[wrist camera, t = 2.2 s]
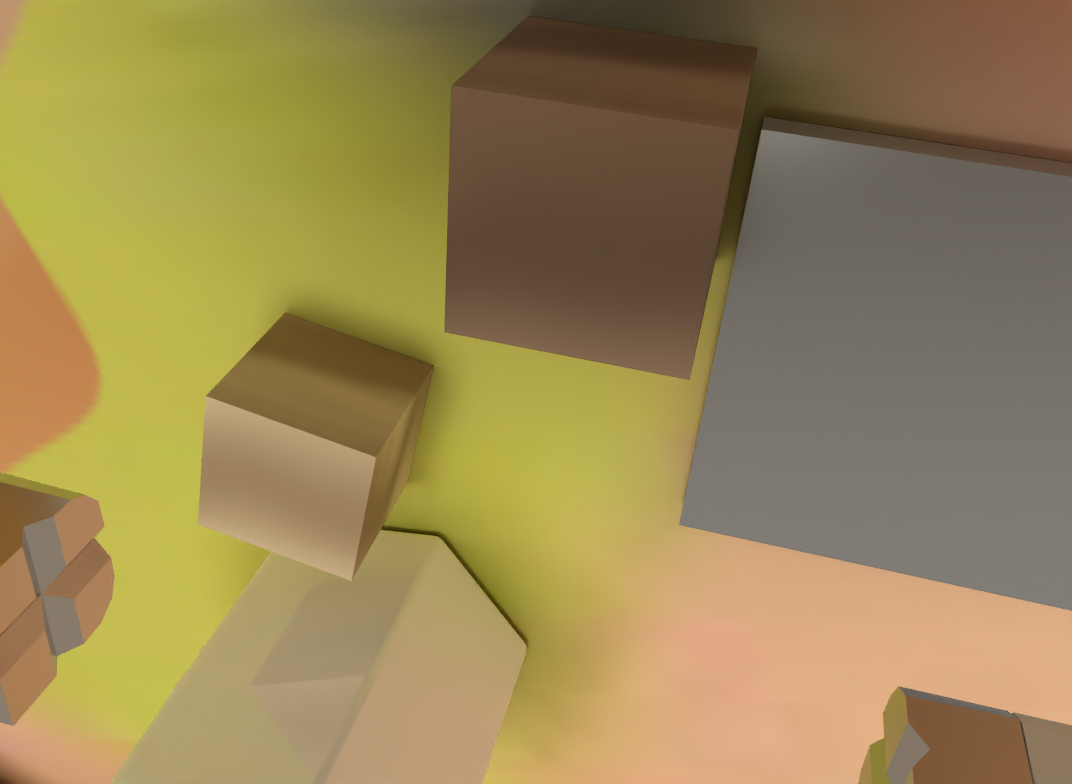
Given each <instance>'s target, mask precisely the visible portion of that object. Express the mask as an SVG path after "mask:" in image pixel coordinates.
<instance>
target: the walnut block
mask: <svg viewBox="0 0 1072 784" xmlns="http://www.w3.org/2000/svg"><path fill="white" fill-rule="evenodd" d="M756 52H757V48H752V47H744V46H737V45H730V44H723V43H716V42H709V41H702V40H695V39H688V38H681V37H674V36H667V35H660V34H653V33H646V32H639V31H631V30H624V29H617V28H610V27H603V26H596V25H589V24H582V23H575V22H568V21H561V20H554V19H547V18H540V17H533V16H528V17H527V18H526V19H525V20H524V21H523V22H521V23H520V24H519V25H518V26H517V27H516V28H515V29H514V30H513V31H512V32H510V33H509V34H508V35H507V36H506V37H505V38H504V39H503V40H502V41H500V42H499V43H498V44H497V45H496V46H495V47H494V48H493V49H492V50H491V51H489V52H488V53H487V54H486V55H485V56H484V57H483V58H482V59H481V60H479V61H478V62H477V63H476V64H475V65H474V66H473V67H472V68H471V69H470V70H468V71H467V72H466V73H465V74H464V75H463V76H462V77H461V78H460V79H458V80H457V81H456V82H455V83H454V84H453V85H452V90H451V125H450V159H449V193H448V228H447V262H446V297H445V331H444V332H447V333H452V334H457V335H462V336H467V337H472V338H477V339H483V340H488V341H493V342H498V343H503V344H508V345H513V346H518V347H523V348H529V349H534V350H539V351H544V352H549V353H554V354H559V355H564V356H569V357H575V358H580V359H585V360H590V361H595V362H600V363H605V364H610V365H615V366H621V367H626V368H631V369H636V370H641V371H646V372H651V373H656V374H661V375H667V376H672V377H677V378H682V379H687V380H690V375H691V370H692V366H693V361H694V356H695V352H696V347H697V343H698V338H699V333H700V329H701V324H702V319H703V315H704V310H705V306H706V301H707V296H708V292H709V287H710V282H711V278H712V273H713V268H714V264H715V259H716V254H717V249H718V244H719V239H720V234H721V229H722V224H723V219H724V214H725V209H726V204H727V198H728V193H729V188H730V183H731V178H732V173H733V168H734V163H735V158H736V153H737V148H738V143H739V138H740V133H741V128H742V123H743V118H744V113H745V108H746V103H747V97H748V92H749V87H750V82H751V77H752V72H753V67H754V62H755V57H756Z"/></svg>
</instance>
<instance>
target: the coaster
mask: <svg viewBox="0 0 1072 784" xmlns="http://www.w3.org/2000/svg"><path fill="white" fill-rule="evenodd" d="M679 525H682V526H687V527H691V528H696V529H701V530H705V531H710V532H714V533H719V534H723V535H728V536H733V537H737V538H742V539H746V540H751V541H755V542H760V543H765V544H769V545H774V546H778V547H783V548H788V549H792V550H797V551H801V552H806V553H810V554H815V555H820V556H824V557H829V558H833V559H838V560H842V561H847V562H852V563H856V564H861V565H865V566H870V567H874V568H879V569H884V570H888V571H893V572H897V573H902V574H907V575H911V576H916V577H920V578H925V579H929V580H934V581H939V582H943V583H948V584H952V585H957V586H961V587H966V588H971V589H975V590H980V591H984V592H989V593H993V594H998V595H1003V596H1007V597H1012V598H1016V599H1021V600H1026V601H1030V602H1035V603H1039V604H1044V605H1048V606H1053V607H1058V608H1062V609H1067V610H1071V611H1072V163H1067V162H1061V161H1054V160H1047V159H1041V158H1034V157H1027V156H1021V155H1014V154H1008V153H1001V152H994V151H988V150H981V149H974V148H968V147H961V146H955V145H948V144H941V143H935V142H928V141H922V140H915V139H908V138H902V137H895V136H888V135H882V134H875V133H869V132H862V131H855V130H849V129H842V128H835V127H829V126H822V125H816V124H809V123H802V122H796V121H789V120H783V119H776V118H769V117H764V119H763V124H762V129H761V134H760V138H759V143H758V148H757V153H756V158H755V162H754V167H753V172H752V177H751V182H750V186H749V191H748V196H747V201H746V206H745V210H744V215H743V220H742V225H741V230H740V234H739V239H738V244H737V249H736V253H735V258H734V263H733V268H732V273H731V277H730V282H729V287H728V292H727V297H726V301H725V306H724V311H723V316H722V321H721V325H720V330H719V335H718V340H717V345H716V349H715V354H714V359H713V364H712V369H711V373H710V378H709V383H708V388H707V393H706V397H705V402H704V407H703V412H702V416H701V421H700V426H699V431H698V436H697V440H696V445H695V450H694V455H693V460H692V464H691V469H690V474H689V479H688V484H687V488H686V493H685V498H684V503H683V508H682V513H681V518H680V524H679Z"/></svg>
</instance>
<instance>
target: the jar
mask: <svg viewBox="0 0 1072 784" xmlns="http://www.w3.org/2000/svg"><path fill="white" fill-rule="evenodd" d="M526 648H527V647H526V644H525V642H524V641H523V640H522V638H521V637H520V636H519V635H518V633H517V632H516V631H515V630H514V628H513V627H512V626H511V625H510V623H509V622H508V621H507V620H506V618H505V617H504V616H503V615H502V613H501V612H500V611H499V610H498V608H497V607H496V606H495V605H494V603H493V602H492V601H491V600H490V598H489V597H488V596H487V595H486V593H485V592H484V591H483V590H482V588H481V587H480V586H479V585H478V583H477V582H476V581H475V580H474V578H473V577H472V576H471V575H470V573H469V572H468V571H467V570H466V568H465V567H464V566H463V565H462V563H461V562H460V561H459V560H458V558H457V557H456V556H455V555H454V553H453V552H452V551H451V550H450V548H449V547H448V546H447V545H446V543H445V542H444V541H443V540H442V539H441V538H440V537H438V536H433V535H424V534H415V533H407V532H398V531H389V530H380V532H379V534H378V535H377V537H376V539H375V541H374V542H373V544H372V546H371V548H370V549H369V551H368V553H367V555H366V556H365V558H364V560H363V562H362V563H361V565H360V567H359V569H358V571H357V572H356V574H355V576H354V578H353V579H352V581H350V580H347V579H345V578H342V577H339V576H337V575H334V574H331V573H328V572H326V571H323V570H320V569H318V568H315V567H312V566H309V565H307V564H304V563H301V562H299V561H296V560H293V559H290V558H288V557H285V556H282V555H280V554H277V553H274V552H271V551H270V552H269V554H268V555H267V557H266V558H265V560H264V561H263V563H262V564H261V565H260V567H259V568H258V570H257V571H256V573H255V574H254V576H253V577H252V578H251V580H250V581H249V583H248V584H247V586H246V587H245V589H244V590H243V591H242V593H241V594H240V596H239V597H238V599H237V600H236V602H235V603H234V604H233V606H232V607H231V609H230V610H229V612H228V613H227V615H226V616H225V617H224V619H223V620H222V622H221V623H220V625H219V626H218V628H217V629H216V630H215V632H214V633H213V635H212V636H211V638H210V639H209V641H208V642H207V643H206V645H204V646H203V647H202V648H201V650H200V652H199V655H198V656H197V658H196V659H195V661H194V662H193V664H192V665H191V666H190V668H189V669H188V670H186V672H185V673H184V674H183V676H182V677H181V679H180V680H179V681H178V683H177V684H176V686H175V687H174V689H173V690H172V692H171V693H170V695H169V697H168V698H167V700H166V702H165V703H164V705H163V707H162V708H161V710H160V711H159V713H158V714H157V716H156V717H155V718H154V720H153V721H152V723H151V724H150V726H149V727H148V729H147V730H146V731H145V733H144V734H143V736H142V737H141V739H140V740H139V741H138V743H137V744H136V746H135V747H134V749H133V750H132V752H131V753H130V754H129V756H128V757H127V759H126V760H125V762H124V763H123V765H122V766H121V767H120V769H119V770H118V772H117V773H116V775H115V776H114V777H113V779H112V780H111V782H110V783H109V784H482V783H483V780H484V777H485V774H486V771H487V768H488V765H489V762H490V759H491V756H492V753H493V750H494V747H495V744H496V741H497V738H498V735H499V732H500V729H501V726H502V723H503V720H504V717H505V714H506V711H507V708H508V705H509V702H510V699H511V696H512V693H513V690H514V687H515V684H516V681H517V678H518V675H519V672H520V669H521V666H522V663H523V660H524V657H525V654H526Z"/></svg>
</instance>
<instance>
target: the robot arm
mask: <svg viewBox="0 0 1072 784" xmlns="http://www.w3.org/2000/svg"><path fill="white" fill-rule="evenodd" d="M103 527H104V522H103V518H102V514H101V510H100V506H99V502H98V501H97V500H95V499H93V498H91V497H89V496H86V495H84V494H80V493H76V492H72V491H69V490H65V489H61V488H57V487H54V486H50V485H46V484H42V483H38V482H35V481H31V480H27V479H23V478H20V477H16V476H12V475H8V474H5V473H4V474H1V473H0V722H1V723H5V724H9V725H13V726H14V725H15V723H16V722H17V721H18V720H19V719H20V718H21V716H22V715H23V714H24V713H25V712H26V711H27V709H28V708H29V707H30V706H31V705H32V704H33V703H34V701H35V700H36V699H37V698H38V697H39V696H40V694H41V693H42V692H43V691H44V690H45V689H46V687H47V686H48V685H49V684H50V683H51V682H52V680H53V679H54V678H55V677H56V676H57V656H58V655H60V654H62V653H65V652H67V651H69V650H71V649H73V648H75V647H78V646H80V645H82V644H84V643H85V642H86V640H87V639H88V638H89V637H90V636H91V634H92V633H93V632H94V631H95V629H96V628H97V627H98V626H99V625H100V623H101V622H102V619H103V617H104V615H105V612H106V610H107V608H108V605H109V603H110V601H111V598H112V595H113V584H114V571H113V566H112V560H111V557H110V556H109V555H108V554H107V552H106V551H105V550H104V549H103V548H102V546H101V545H100V544H99V543H98V542H97V541H96V539H95V537H96V536H97V535H98V533H99V532H100V531H101V530H102V528H103ZM883 722H884V738H883V739H881V740H879V741H877V742H875V743H873V744H871V745H870V747H869V749H868V752H867V755H866V758H865V760H864V763H863V766H862V769H861V773H860V778H859V783H858V784H1072V726H1071V725H1067V724H1063V723H1058V722H1054V721H1049V720H1045V719H1041V718H1036V717H1032V716H1027V715H1023V714H1018V713H1009V712H1008V711H1005V710H1001V709H996V708H992V707H987V706H983V705H978V704H974V703H970V702H965V701H961V700H956V699H952V698H948V697H943V696H939V695H934V694H930V693H925V692H921V691H917V690H912V689H908V688H903V687H899V686H898V687H897V689H896V690H895V691H894V692H893V693H892V694H891V696H890V698H889V701H888V703H887V705H886V708H885V710H884V712H883Z"/></svg>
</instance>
